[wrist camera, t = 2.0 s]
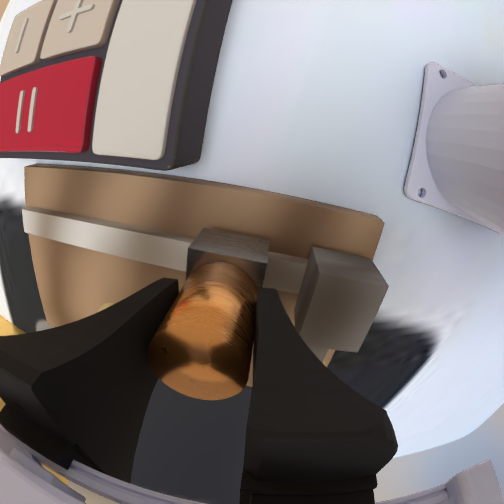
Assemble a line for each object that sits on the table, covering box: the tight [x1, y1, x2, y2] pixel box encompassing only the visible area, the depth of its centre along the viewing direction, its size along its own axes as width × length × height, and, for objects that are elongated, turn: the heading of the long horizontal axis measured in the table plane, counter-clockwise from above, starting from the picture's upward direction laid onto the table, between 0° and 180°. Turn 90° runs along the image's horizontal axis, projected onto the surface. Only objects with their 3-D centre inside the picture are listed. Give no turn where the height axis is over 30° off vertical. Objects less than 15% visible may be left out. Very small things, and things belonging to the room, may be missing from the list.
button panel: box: [0, 0, 232, 171], centre depth 10 cm, size 11×4×15 cm
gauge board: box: [22, 164, 389, 387], centre depth 14 cm, size 22×13×5 cm, turn 80°
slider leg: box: [147, 228, 269, 400], centre depth 12 cm, size 3×9×7 cm, turn 170°
